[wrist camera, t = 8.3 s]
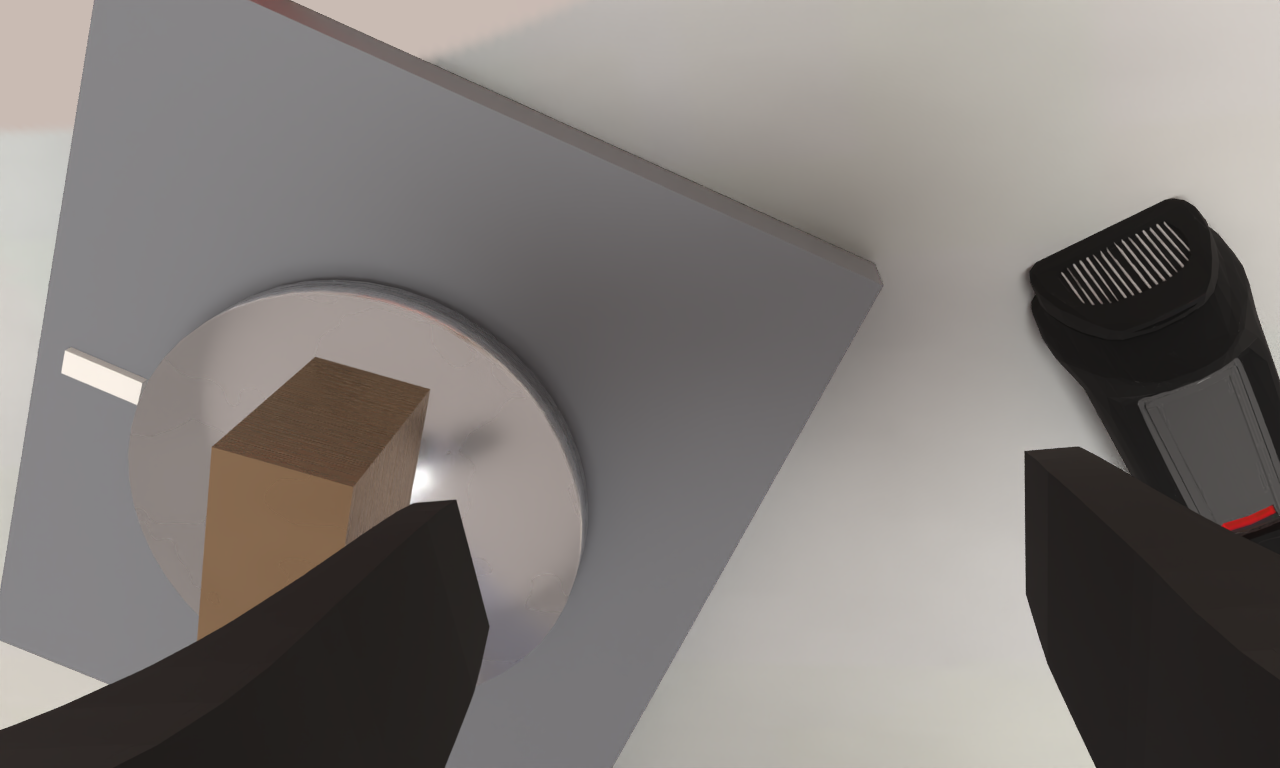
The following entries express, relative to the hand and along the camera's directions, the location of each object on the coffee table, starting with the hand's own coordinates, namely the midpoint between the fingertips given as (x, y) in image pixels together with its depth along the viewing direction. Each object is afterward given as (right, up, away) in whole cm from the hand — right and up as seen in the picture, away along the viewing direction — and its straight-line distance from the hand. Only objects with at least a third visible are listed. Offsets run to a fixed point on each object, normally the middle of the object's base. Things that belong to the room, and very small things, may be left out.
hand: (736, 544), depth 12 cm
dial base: (-7, 0, +11) cm, 13 cm away
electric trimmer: (+12, -1, +10) cm, 15 cm away
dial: (-7, 0, +9) cm, 12 cm away
